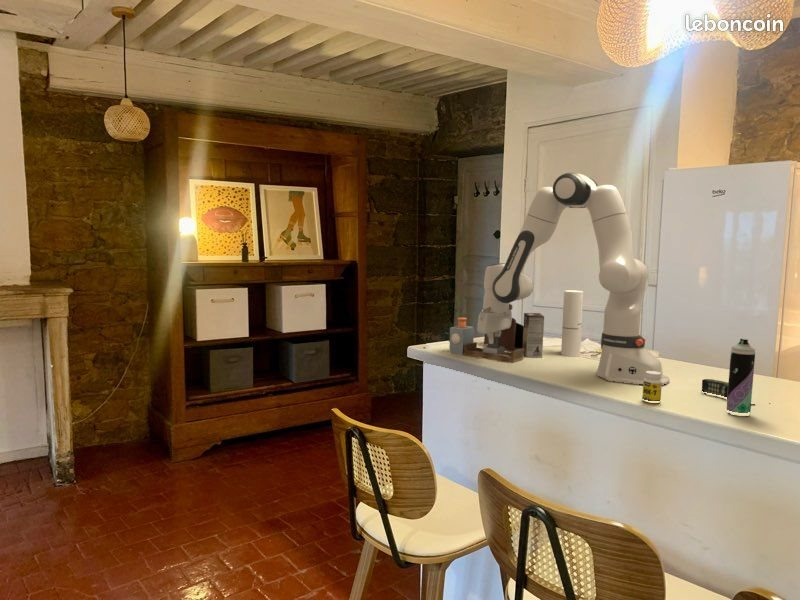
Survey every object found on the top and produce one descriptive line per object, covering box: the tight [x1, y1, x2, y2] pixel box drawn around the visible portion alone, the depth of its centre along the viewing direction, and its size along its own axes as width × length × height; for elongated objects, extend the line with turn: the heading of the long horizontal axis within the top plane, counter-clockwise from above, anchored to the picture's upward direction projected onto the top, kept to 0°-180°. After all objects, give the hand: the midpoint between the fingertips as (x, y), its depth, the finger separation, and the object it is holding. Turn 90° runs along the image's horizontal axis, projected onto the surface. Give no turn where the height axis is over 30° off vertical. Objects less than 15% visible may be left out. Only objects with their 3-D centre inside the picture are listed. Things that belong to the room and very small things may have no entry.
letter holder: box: [483, 317, 524, 352], centre depth 245 cm, size 10×20×14 cm, turn 28°
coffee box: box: [523, 312, 545, 359], centre depth 228 cm, size 9×6×16 cm
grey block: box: [448, 325, 475, 356], centre depth 231 cm, size 6×8×10 cm
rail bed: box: [463, 341, 524, 364], centre depth 223 cm, size 21×8×4 cm, turn 52°
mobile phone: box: [701, 378, 729, 397], centre depth 170 cm, size 5×3×15 cm
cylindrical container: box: [560, 289, 584, 358], centre depth 229 cm, size 7×7×25 cm
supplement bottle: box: [641, 371, 663, 402], centre depth 165 cm, size 5×5×8 cm
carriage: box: [482, 336, 506, 355], centre depth 223 cm, size 6×6×7 cm
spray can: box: [726, 338, 756, 413], centre depth 154 cm, size 6×6×20 cm
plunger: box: [457, 317, 468, 328], centre depth 231 cm, size 4×4×7 cm
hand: (493, 342), depth 223 cm, fingers closed on carriage, 2 cm apart
